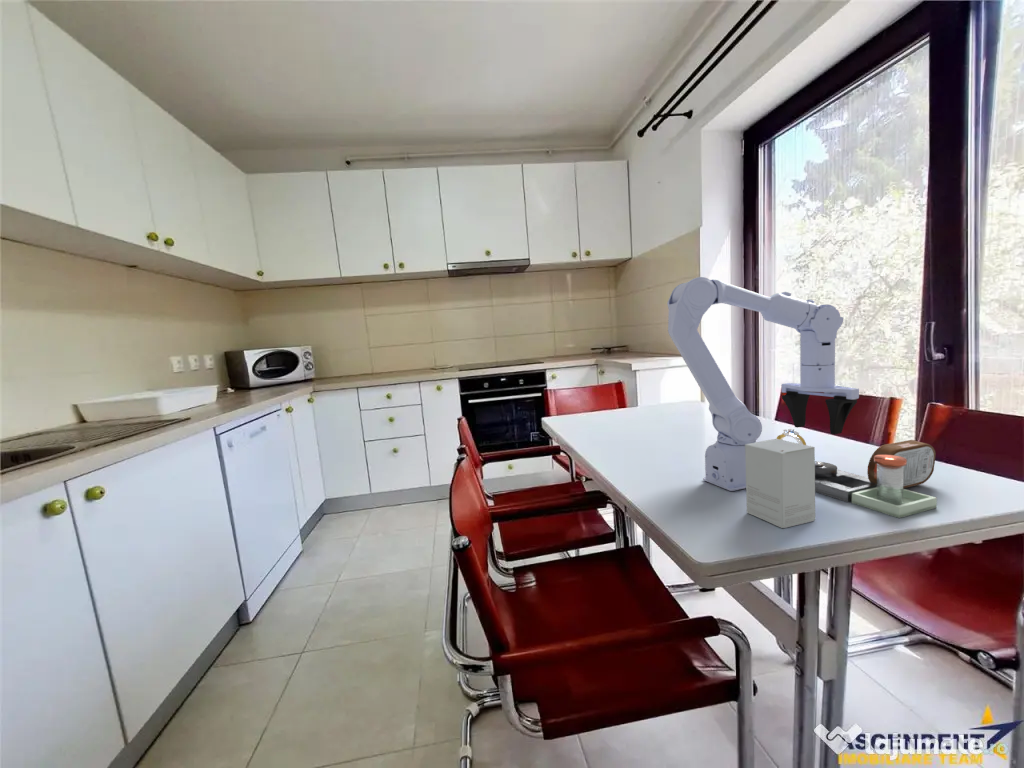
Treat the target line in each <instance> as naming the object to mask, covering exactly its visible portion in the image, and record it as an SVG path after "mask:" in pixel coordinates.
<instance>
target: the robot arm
mask: <svg viewBox="0 0 1024 768" xmlns="http://www.w3.org/2000/svg"><path fill="white" fill-rule="evenodd" d="M718 304H724V305H729V306H734V307H737V308H743V309H746V310H749V311H754V312H758V313H760V314H761V316H762V318H763V319H764V320H765V321H767V322H770V323H774V324H778V325H781V326H784V327H787V328H791V329H795V330H796V331H797V333H799V334H800V335H799V336H800V337H799V339H800V340H799V341H800V342H799V345H800V347H799V349H800V350H799V351H800V352H799V357H800V360H799V361H800V362H799V363H800V364H799V365H800V367H799V368H800V370H799V371H800V372H799V373H800V374H799V376H800V377H799V378H800V379H799V380H800V382H799V383H793V382H786V383H781V393H785V394H783V395H781V399H782V400H783V402H784V403H785V405H786V407H787V409H788V411H789V414H790V416H791V418H792V422H793V425H794V428H803V427H805V425H806V418H807V417H806V415H807V413H806V412H807V405H808V402H809V401H808V400H809V399H810V396H819V397H820V396H822V397H830V398H826V399H825V401H824V402H825V404H826V407H827V410H828V411H827V412H828V415H829V430H830V434H831V435H839V434H842V433H843V430H844V426H845V422H846V420H847V418H848V416H849V415H850V413H851V411H852V409H853V408H854V406H855V405H856V404H857V403H858V399H859V398H860V388H856V387H848V386H841V385H836V339H837V333H838V330H839V329H840V328H841V327H842V325H843V323H844V316H841V314H840V311H839V310H838V309H837V307H835V306H834V305H832V304H818V305H817V304H816V303H815V300H813V299H806V300H804V299H801V298H797V297H794V296H792V292H789V291H783V292H781V293H778V292H777V293H776V292H775V293H774V294H772V295H770V296H767V295H764V294H761V293H757V292H755V291H752V290H748V289H746V288H742V287H739V286H736V285H735V284H734V285H733V284H731V283H727V282H724V281H723V280H719V279H710V278H708V277H706V276H704V277H703V276H700V277H699V276H697V277H695V278H692V279H691V280H689V281H687V282H683V283H679V284H678V285H677V286H675V287H674V288H673V290H672V291H671V294H670V295H669V298H668V300H667V308H668V316H667V317H668V320H667V321H668V322H667V323H668V325H667V326H668V327H667V329H668V330H667V332H668V336H669V337H670V339H671V341H672V342H673V344H674V346H675V347H676V349H677V350H678V352H679V354H680V356H681V357H682V359H683V361H684V363H685V364H686V366H687V368H688V370H689V372H690V373H691V375H692V376H693V378H694V380H695V382H696V383H697V385H698V387H699V389H700V390H701V392H702V393H703V395H704V397H705V399H706V400H707V402H708V404H709V405H708V406H709V407H708V410H709V412H710V414H711V417H712V419H711V420H712V421H711V422H712V425H713V428H714V429H715V430H716V431H717V436H716V441H715V442H714V443H713V444H710V445H708V447H707V448H706V449H705V452H704V453H705V454H704V462H705V463H704V464H705V465H704V467H705V468H704V469H705V477H704V476H703V477H702V480H703V481H705V482H707V483H709V484H712V485H714V486H717V487H720V488H722V489H724V490H727V491H729V492H734V491H738V490H739V491H740V490H743V489H746V459H745V444H750V443H755V442H757V440H758V439H759V438H760V436H761V434H762V431H763V424H762V421H761V420H760V419H759V417H758V416H756V415H755V414H753V413H751V411H750V410H749V409H748V408H747V406H746V404H745V403H743V401H741V400H740V399H739V398H738V396H737V395H736V394H735V393H734V391H733V389H732V387H730V384H729V382H728V380H727V379H726V378H725V376H724V374H723V373H722V371H721V369H720V367H719V365H718V363H717V362H716V360H715V359H714V356H713V354H712V353H711V351H710V350H709V348H708V347H707V344H706V343H705V341H704V340H703V337H702V336H701V334H700V333H699V331H698V328H699V327H700V324H701V322H702V318H703V316H704V315H705V313H706V312H707V311H708V310H709V309H710V308H711V307H712V306H714V305H718Z"/></svg>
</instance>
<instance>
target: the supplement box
mask: <svg viewBox="0 0 1024 768" xmlns="http://www.w3.org/2000/svg"><path fill="white" fill-rule="evenodd" d="M815 452H816V451H815V446H811V445H807V444H806V445H803V444H799V443H798V442H794V441H793V442H792V441H787V440H780V439H776V438H773V439H767V440H761V441H756V442H755V443H750V444H745V459H746V488H745V490H746V491H745V494H746V496H745V497H746V513H747V514H750V515H752V516H754V517H757V518H759V519H761V520H763V521H765V522H767V523H770V524H771V525H774V526H777V527H779V528H781V529H787V528H790V527H794V526H799V525H804V524H806V523H807V524H808V523H810V522H814V521H816V492H815V461H816V460H815V457H816V456H815V455H816V454H815Z"/></svg>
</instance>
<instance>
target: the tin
mask: <svg viewBox="0 0 1024 768" xmlns="http://www.w3.org/2000/svg"><path fill="white" fill-rule="evenodd" d="M936 452H937V451H936V450H935V448H934V447H933V446H932V445H931V444H929V443H926V442H921V441H917V440H915V439H908V440H903V441H899V442H892V443H886V444H882V445H880V446H879V447H878V448H876V450H874V452H873V453H872V454H871V456H870V458H869V461H868V465H867V473H866V474H867V478H868V479H869V481H870V482H872V483H876V484H877V463H875V462H874V456H875V455H895V456H900V457H903V458H906V459H907V465H905V466H903V489H907V488H911V487H914V486H916V487H917V486H920V485H923V484H925V483H926V482H927V481H928V480H929V479H930V478H931V476H932V474H933V473H934V471H935V470H934V469H935V463H936V456H937V455H936Z"/></svg>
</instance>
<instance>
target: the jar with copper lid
mask: <svg viewBox="0 0 1024 768" xmlns="http://www.w3.org/2000/svg"><path fill="white" fill-rule="evenodd" d="M874 462H875V463H877V500H881V501H884V502H887V503H891V504H894V505H902V504H903V489H904V488H903V466H905V465H907V459H906V458H903V457H900V456H895V455H875V456H874Z"/></svg>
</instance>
